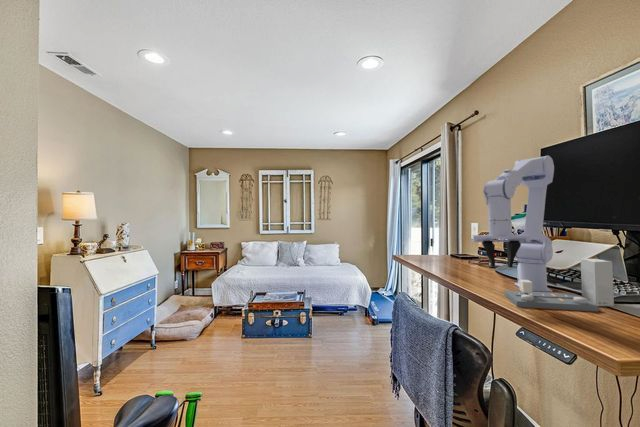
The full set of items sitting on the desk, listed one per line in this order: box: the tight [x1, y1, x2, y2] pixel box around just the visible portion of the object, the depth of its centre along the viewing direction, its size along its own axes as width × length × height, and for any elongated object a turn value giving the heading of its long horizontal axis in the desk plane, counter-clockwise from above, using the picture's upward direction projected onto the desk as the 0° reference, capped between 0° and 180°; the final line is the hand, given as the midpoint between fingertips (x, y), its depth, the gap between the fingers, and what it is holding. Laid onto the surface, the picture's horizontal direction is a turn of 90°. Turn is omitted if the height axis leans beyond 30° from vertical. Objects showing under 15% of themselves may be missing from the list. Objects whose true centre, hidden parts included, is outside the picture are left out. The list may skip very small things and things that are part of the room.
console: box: [503, 289, 600, 312], centre depth 84 cm, size 12×18×3 cm, turn 72°
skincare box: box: [580, 258, 615, 307], centre depth 82 cm, size 6×4×12 cm
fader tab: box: [518, 280, 533, 295], centre depth 85 cm, size 3×2×4 cm
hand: (501, 266), depth 87 cm, fingers open, 4 cm apart
